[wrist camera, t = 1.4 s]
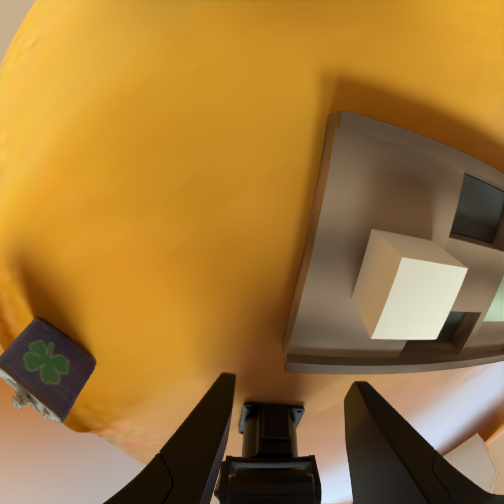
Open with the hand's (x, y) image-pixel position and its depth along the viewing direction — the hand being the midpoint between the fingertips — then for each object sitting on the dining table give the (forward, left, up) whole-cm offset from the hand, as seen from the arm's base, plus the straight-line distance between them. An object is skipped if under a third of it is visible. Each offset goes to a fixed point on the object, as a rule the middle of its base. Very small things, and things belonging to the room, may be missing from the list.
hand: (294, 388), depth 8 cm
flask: (-15, +21, -13) cm, 29 cm away
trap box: (0, -16, -13) cm, 21 cm away
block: (0, -8, -10) cm, 13 cm away
